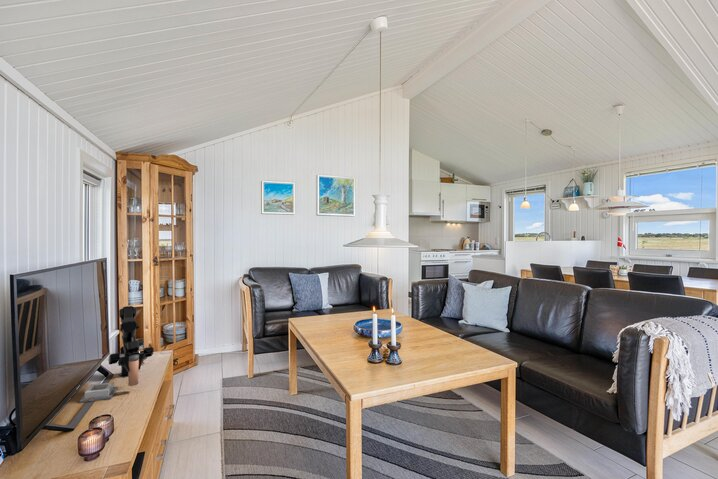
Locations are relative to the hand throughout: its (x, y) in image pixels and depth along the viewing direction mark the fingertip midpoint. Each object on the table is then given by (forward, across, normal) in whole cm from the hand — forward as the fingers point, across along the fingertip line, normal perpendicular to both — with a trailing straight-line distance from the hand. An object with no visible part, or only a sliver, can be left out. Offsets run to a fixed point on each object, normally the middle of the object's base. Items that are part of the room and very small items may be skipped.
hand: (134, 370), depth 172 cm
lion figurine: (-21, +10, +37) cm, 44 cm away
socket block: (+3, -13, +12) cm, 18 cm away
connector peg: (+4, 0, +6) cm, 7 cm away
